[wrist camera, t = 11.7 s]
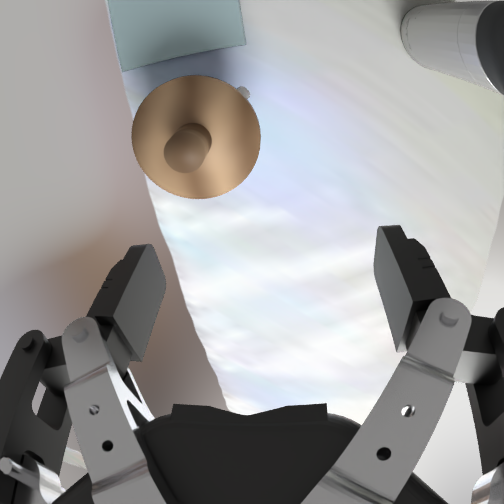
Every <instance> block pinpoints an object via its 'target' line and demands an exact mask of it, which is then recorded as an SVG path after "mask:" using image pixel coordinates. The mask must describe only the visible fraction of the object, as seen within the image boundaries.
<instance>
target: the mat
mask: <svg viewBox="0 0 504 504" xmlns="http://www.w3.org/2000/svg"><path fill="white" fill-rule="evenodd" d="M108 4H109V10H110V15H111V21H112V26H113V31H114V36H115V41H116V46H117V51H118V55H119V60H120V65H121V69H122V72H125V71H128V70H131V69H134V68H138V67H141V66H145V65H148V64H152V63H156V62H160V61H164V60H168V59H172V58H176V57H180V56H185V55H189V54H194V53H199V52H204V51H209V50H215V49H221V48H227V47H233V46H240V45H246V40H245V34H244V27H243V21H242V15H241V9H240V3H239V0H108Z"/></svg>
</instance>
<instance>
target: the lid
mask: <svg viewBox="0 0 504 504" xmlns="http://www.w3.org/2000/svg"><path fill="white" fill-rule="evenodd" d="M260 140H261V134H260V126H259V122H258V119H257V116H256V113H255V111H254V109H253V108H252V106H251V104H250V103H249V102H248V100H247V99H246V98H245V97H244V96H243V95H242V94H241V93H240V92H239V91H238V90H237V89H236V88H234V87H233V86H231V85H230V84H228V83H226V82H224V81H222V80H219V79H217V78H213V77H209V76H201V75H190V76H183V77H179V78H176V79H173V80H170V81H168V82H166V83H164V84H162V85H160V86H159V87H157V88H156V89H155V90H153V91H152V92H151V93H150V94H149V95H148V96H147V97H146V98H145V99H144V100H143V102H142V103H141V105H140V106H139V108H138V110H137V112H136V115H135V118H134V121H133V126H132V145H133V150H134V154H135V156H136V159H137V161H138V163H139V165H140V167H141V168H142V170H143V171H144V173H145V174H146V175H147V176H148V177H149V179H151V180H152V181H153V182H154V183H155V184H156V185H158V186H159V187H160V188H162V189H164V190H166V191H167V192H169V193H172V194H174V195H177V196H180V197H184V198H190V199H207V198H212V197H216V196H220V195H222V194H225V193H227V192H229V191H231V190H232V189H234V188H236V187H237V186H238V185H239V184H241V183H242V182H243V181H244V180H245V179H246V178H247V176H248V175H249V174H250V172H251V171H252V169H253V167H254V165H255V163H256V160H257V158H258V154H259V150H260Z"/></svg>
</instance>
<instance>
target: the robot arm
mask: <svg viewBox="0 0 504 504" xmlns="http://www.w3.org/2000/svg"><path fill="white" fill-rule="evenodd" d="M401 36H402V41H403V44H404V47H405V49H406V50H407V52H408V54H409V55H410V56H411V57H412V59H413V60H415V61H416V62H417V63H418V64H420V65H421V66H423V67H425V68H428V69H431V70H435V71H438V72H441V73H444V74H447V75H450V76H453V77H456V78H459V79H462V80H465V81H468V82H470V83H473V84H476V85H478V86H481V87H484V88H486V89H489V90H492V91H494V92H496V93H499V94H501V95H503V96H504V1H471V2H452V3H440V4H430V5H422V6H418V7H415V8H413V9H411V10H410V11H409V12H408V13H407V14H406V15H405V17H404V19H403V21H402V26H401ZM374 275H375V280H376V283H377V286H378V289H379V292H380V295H381V299H382V302H383V305H384V309H385V312H386V315H387V319H388V322H389V326H390V329H391V333H392V337H393V340H394V344H395V348H396V352H397V353H398V352H404V351H407V353H406V355H405V357H404V356H403V358H402V359H401V361H400V363H399V364H398V366H397V368H396V370H395V372H394V374H393V375H392V377H391V379H390V381H389V382H388V384H387V386H386V388H385V389H384V391H383V393H382V394H381V396H380V398H379V399H378V401H377V403H376V404H375V406H374V407H373V409H372V411H371V412H370V414H369V415H368V417H367V418H366V420H365V421H364V423H363V424H362V425H360V424H358V423H357V422H355V421H353V420H351V419H348V418H346V417H343V416H339V415H336V414H330V413H327V403H324V404H311V405H294V406H285V407H281V408H277V409H273V410H269V411H265V412H261V413H257V414H253V415H240V414H236V413H233V412H229V411H225V410H221V409H217V408H214V407H211V406H199V405H182V404H173V408H172V413H171V414H168V415H164V416H161V417H158V418H156V419H155V418H154V417H153V416H152V414H151V413H150V411H149V409H148V407H147V405H146V404H145V401H144V399H143V397H142V395H141V393H140V391H139V389H138V387H137V385H136V382H135V380H134V378H133V376H132V373H131V371H130V370H129V368H128V365H129V362H130V361H140V362H141V361H142V360H143V357H144V353H145V350H146V347H147V344H148V341H149V338H150V335H151V332H152V329H153V326H154V323H155V320H156V317H157V314H158V311H159V308H160V305H161V302H162V299H163V297H164V294H165V290H166V279H165V275H164V273H163V270H162V268H161V265H160V262H159V260H158V257H157V255H156V252H155V250H154V247H153V246H152V245H151V244H146V245H134V246H131V247H130V248H129V250H128V252H127V253H126V255H125V257H124V259H123V260H120V261H119V262H118V263H117V264H116V265H115V266H114V267H113V268H112V269H111V270H110V272H109V274H108V276H107V277H106V281H104V283H103V285H102V287H101V289H100V291H99V292H98V294H97V296H96V298H95V300H94V302H93V304H92V306H91V308H90V310H89V312H88V314H87V316H86V317H81V318H79V319H76V320H75V321H73V322H72V323H70V324H69V325H68V326H67V327H66V329H65V330H64V333H63V335H62V336H58V337H55V338H51V339H46V337H45V336H44V334H43V333H42V332H41V331H39V330H31V331H29V332H27V333H26V334H24V335H23V336H22V337H21V338H20V339H19V341H18V342H17V344H16V346H15V349H14V350H13V352H12V354H11V357H10V359H9V361H8V363H7V365H6V367H5V370H4V372H3V374H2V376H1V379H0V504H448V503H447V502H446V501H445V500H443V499H442V498H441V497H440V496H439V495H438V494H437V493H436V492H435V491H433V490H432V489H431V488H430V487H429V486H428V485H427V484H426V483H424V482H423V481H422V480H421V479H420V478H419V477H418V476H417V475H415V474H414V473H413V472H412V471H413V470H414V468H415V466H416V464H417V462H418V461H419V459H420V457H421V455H422V453H423V451H424V449H425V448H426V446H427V443H428V442H429V440H430V438H431V436H432V434H433V432H434V429H435V427H436V425H437V423H438V421H439V419H440V417H441V414H442V412H443V410H444V407H445V405H446V403H447V400H448V398H449V395H450V393H451V391H452V388H453V385H454V382H462V383H465V384H466V388H467V392H468V396H469V400H470V405H471V409H472V414H473V418H474V423H475V428H476V434H477V439H478V445H479V451H480V458H481V465H482V473H483V476H482V477H481V478H480V479H479V480H478V481H477V483H476V484H475V486H474V489H473V492H472V499H471V504H504V308H501V309H500V310H499V311H498V312H497V314H496V316H495V318H487V317H480V316H474V315H471V314H470V312H469V310H468V309H467V307H466V306H465V305H464V304H462V303H461V302H459V301H457V300H455V299H452V298H451V297H450V295H449V293H448V291H447V289H446V287H445V285H444V283H443V281H442V279H441V277H440V275H439V273H438V271H437V269H436V268H435V265H434V263H433V261H432V260H431V259H430V256H429V254H428V252H427V250H426V249H425V247H424V246H423V245H422V244H420V243H419V242H418V241H417V240H416V239H414V238H413V239H407V237H406V235H405V233H404V231H403V230H402V228H401V226H400V225H391V226H379V227H378V230H377V237H376V247H375V256H374ZM39 381H40V382H41V383H42V384H43V385H44V386H45V387H46V390H45V393H44V396H43V399H42V402H41V404H40V407H39V410H38V413H37V416H36V415H35V414H34V412H33V410H32V400H33V397H34V395H35V392H36V389H37V386H38V384H39ZM72 424H73V427H74V431H75V434H76V437H77V441H78V444H79V446H80V450H81V453H82V456H83V459H84V462H85V465H86V467H87V470H88V473H87V474H86V475H84V476H83V477H82V478H81V479H80V480H78V481H77V482H76V483H75V484H74V485H73V486H71V487H70V488H69V489H68V490H65V488H64V487H62V486H61V482H60V479H59V474H60V469H61V465H62V461H63V456H64V452H65V448H66V444H67V440H68V437H69V433H70V429H71V426H72Z"/></svg>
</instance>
